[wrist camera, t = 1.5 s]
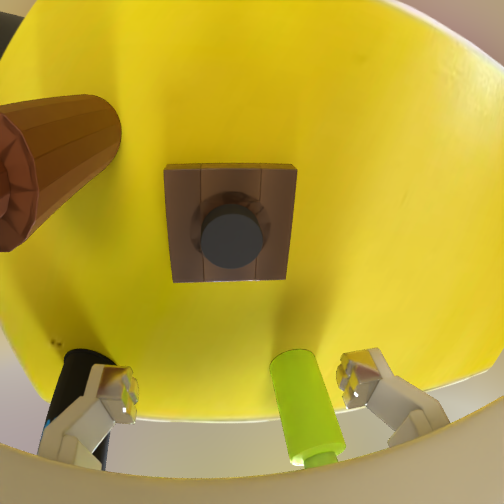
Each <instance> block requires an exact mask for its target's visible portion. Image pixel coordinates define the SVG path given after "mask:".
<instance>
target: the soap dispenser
mask: <svg viewBox="0 0 504 504" xmlns="http://www.w3.org/2000/svg"><path fill="white" fill-rule="evenodd" d="M270 372H271V377H272V381H273V386H274V391H275V395H276V400H277V404H278V409H279V413H280V418H281V422H282V427H283V431H284V436H285V440H286V445H287V449H288V454H289V458H290V462H291V463H292V464H293V465H299V466H300V465H301V466H303V465H304V467H305V469H307V468H313V467H318V466H323V465H327V464H332V463H336V462H338V460H337V457H336V456H337V455H339V454H340V453H342V452H343V451H344V450H345V448H346V444H345V442H344V438H343V435H342V432H341V429H340V426H339V424H338V421H337V418H336V415H335V412H334V409H333V406H332V404H331V401H330V398H329V395H328V392H327V389H326V387H325V384H324V381H323V378H322V375H321V373H320V370H319V367H318V364H317V361H316V359H315V356H314V355H313V353H311V352H310V351H307V350H303V349H296V350H290V351H287V352H284V353H282V354H280V355H279V356H277V357H276V358H275V359H274V360H273V361H272V363H271V365H270Z"/></svg>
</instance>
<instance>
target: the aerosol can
mask: <svg viewBox="0 0 504 504" xmlns="http://www.w3.org/2000/svg"><path fill="white" fill-rule="evenodd" d="M94 364H103V365H115V364H114V363H113V362H112V361H111V360H110V359H108V358H107V357H105V356H103V355H101V354H99V353H97V352H94V351H91V350H86V349H75V350H71V351H69V352H68V353H67V354H66V355H65V357H64V365H63V368H62V371H61V374H60V377H59V379H58V382H57V385H56V388H55V391H54V395H53V398H52V401H51V404H50V407H49V411H48V414H47V417H46V422H45V425H44V428H43V431H44V429H45V428H46V427H47V426H48V425H49V424H50V423H51V422H52V421H53V420H54V419H56V418H57V417H58V416H59V415H60V414H61V413H62V412H63V411H64V410H65V409H67V408H68V407H69V406H70V405H71V404H72V403H73V402H74V401H75V400H76V399H78V398H79V397H80V396H84V392H85V388H86V385H87V382H88V378H89V375H90V372H91V368H92V366H93V365H94ZM42 435H43V432H42ZM109 437H110V432H109V433H108V434H107V435H106V437H105V438H104V439H103V440H102V442H101V443H100V444H99V445H98V447H97V448H96V449H95V450H94V452H93V453H92V454H93V455H94V456H95V457H96V458H97V459H98V460H99V461H100V463H101V464H102V468H101V470H102V471H105V468H106V459H107V451H108V444H109ZM41 438H42V436H41ZM40 442H41V440H40ZM39 446H40V444H39ZM38 450H39V448H38ZM37 454H38V452H37Z"/></svg>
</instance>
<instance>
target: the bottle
mask: <svg viewBox="0 0 504 504" xmlns="http://www.w3.org/2000/svg"><path fill="white" fill-rule="evenodd" d="M120 142H121V125H120V120H119V118H118V115H117V113H116V111H115V110H114V108H113V107H112V106H111V105H110V104H109V103H108V102H107V101H105V100H104V99H102V98H100V97H97V96H94V95H87V94H83V95H71V96H60V97H51V98H43V99H36V100H29V101H23V102H17V103H11V104H6V105H1V106H0V252H10V251H12V250H13V249H15V248H16V247H17V246H19V245H20V244H22V243H23V242H25V241H26V240H27V239H28V238H29V237H30V236H31V235H32V234H33V233H34V231H35V230H36V229H37V228H38V227H40V226H41V225H42V224H43V223H44V222H45V221H46V220H47V219H48V218H49V217H50V216H51V215H52V214H53V213H54V212H55V211H56V210H57V209H58V208H59V207H60V206H62V205H63V204H64V203H65V202H66V201H67V200H68V199H69V198H70V197H72V196H73V195H74V194H75V193H76V192H77V191H78V190H80V189H81V188H82V187H83V186H84V185H86V184H87V183H88V182H89V181H90V180H92V179H93V178H94V177H95V176H96V175H98V174H99V173H100V172H101V171H103V170H104V169H105V168H106V167H107V166H108V165H109V164H110V162H111V161H112V160H113V158H114V157H115V155H116V153H117V151H118V149H119V146H120Z"/></svg>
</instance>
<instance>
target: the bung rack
mask: <svg viewBox="0 0 504 504" xmlns="http://www.w3.org/2000/svg"><path fill="white" fill-rule="evenodd" d="M296 180H297V169H296V168H295V167H294V166H293V165H292V164H267V163H202V164H201V163H198V164H169V165H167V166H166V167H165V169H164V188H165V204H166V218H167V230H168V241H169V251H170V261H171V270H172V279H173V283H188V282H227V281H254V280H255V281H261V280H285V279H286V272H287V264H288V255H289V247H290V238H291V229H292V220H293V210H294V200H295V190H296ZM225 204H237V205H241V206H244V207H246V208H247V209H249V210H250V211H251V212H252V213H253V214H254V215H255V216H256V218H257V220H258V223H259V225H260V228H261V231H262V234H263V245H262V249H261V251H260V253H259V255H258V256H257V257H256V258H255V259H254V260H253V261H252V262H251V263H249V264H248V265H246V266H244V267H241V268H236V269H225V268H221V267H218V266H216V265H214V264H212V263H211V262H210V261H209V260H208V259H207V258H206V257H205V255H204V254H203V252H202V249H201V244H200V241H201V227H202V223H203V221H204V219H205V217H206V216H207V214H208V213H209V212H210V211H212V210H213V209H215V208H216V207H218V206H221V205H225Z"/></svg>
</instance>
